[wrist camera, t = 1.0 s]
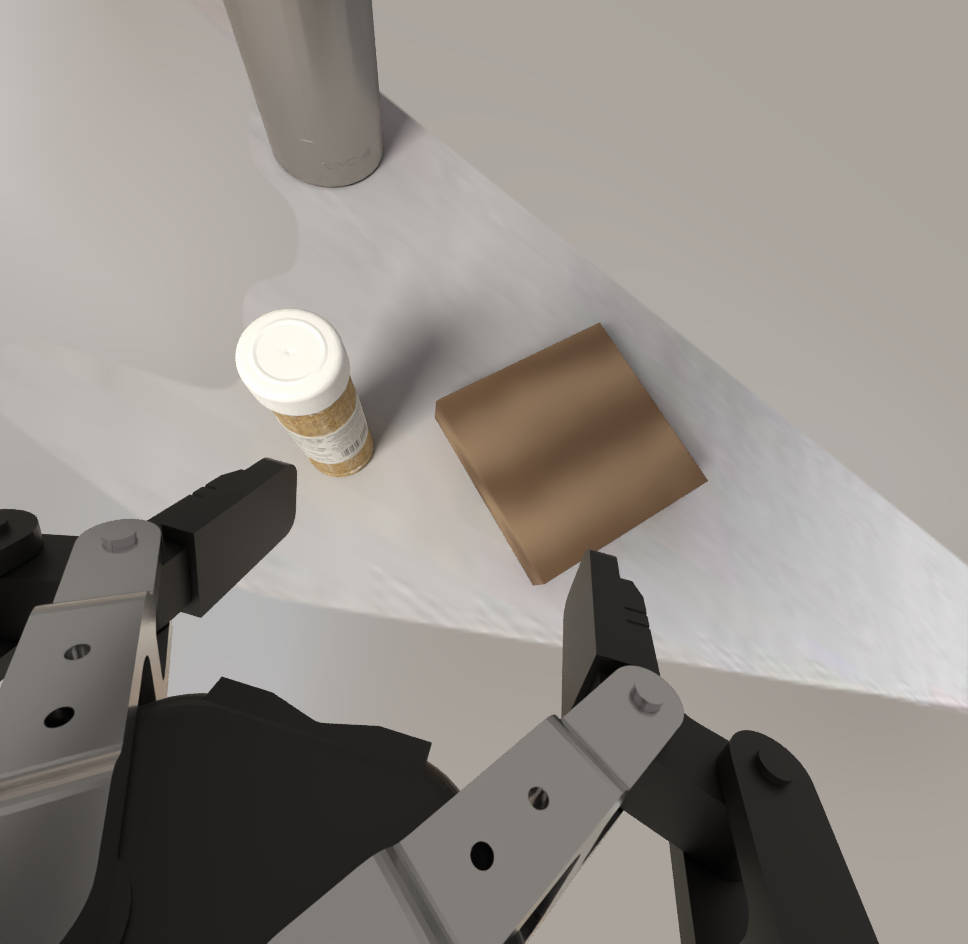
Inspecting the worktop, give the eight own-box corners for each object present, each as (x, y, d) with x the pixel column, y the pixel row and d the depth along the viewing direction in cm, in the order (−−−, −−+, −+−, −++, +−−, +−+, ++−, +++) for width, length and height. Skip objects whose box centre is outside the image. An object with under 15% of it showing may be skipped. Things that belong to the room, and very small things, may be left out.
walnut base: (435, 417, 34) (436, 400, 31) (586, 343, 37) (599, 322, 35) (533, 585, 32) (544, 584, 29) (684, 490, 35) (707, 480, 32)
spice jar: (347, 406, 33) (301, 286, 20) (387, 452, 33) (365, 359, 20) (293, 444, 32) (208, 341, 19) (334, 492, 32) (275, 420, 19)
